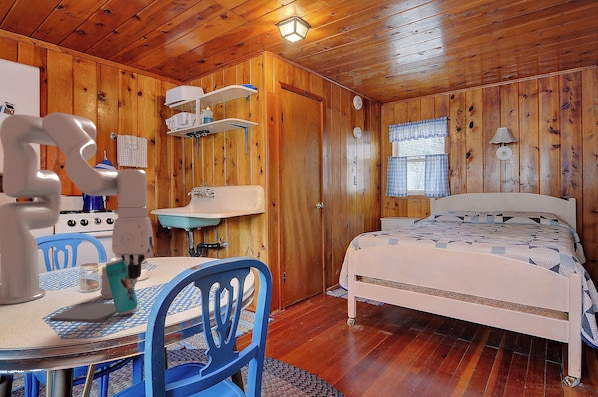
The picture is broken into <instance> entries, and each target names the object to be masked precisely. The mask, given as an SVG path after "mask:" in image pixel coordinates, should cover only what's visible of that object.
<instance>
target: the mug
mask: <svg viewBox="0 0 598 397" xmlns="http://www.w3.org/2000/svg"><path fill="white" fill-rule="evenodd" d="M138 278H139V277H138ZM138 278H136V279H132V282H133V286H134V288H135V286H136V284H138V283H137V282H138V280H139V279H138ZM100 279H101V290H100V295H101V298H102V299H106V300H107V299H113V297H112V293H111V289H110V285H109V281H108V277H107V273H106V265H104V266H102V267H101V276H100Z"/></svg>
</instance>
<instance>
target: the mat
mask: <svg viewBox="0 0 598 397" xmlns="http://www.w3.org/2000/svg"><path fill="white" fill-rule="evenodd" d="M116 314H118V312H117V311H116V309H115V305H114V303H110V302H109V303H107V302H106V303H103V302H81V303H79V304H77V305H75V306H73V307H71V308H68V309H66V310H64V311H62V312H59V313H57V314H55V315H53V316H51V317H50V318H49V320H50V321H66V322H67V321H70V322H71V321H72V322H73V321H74V322H95V323H99V322H100V323H101V322H103V321H105V320H106V319H108V318H110V317H112V316H114V315H116Z"/></svg>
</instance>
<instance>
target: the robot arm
mask: <svg viewBox="0 0 598 397" xmlns="http://www.w3.org/2000/svg"><path fill="white" fill-rule="evenodd" d="M96 136H97V127H96V125H95V123H94V122H92V120H90V119H88V118H86V117H85V116H80V115H79V116H78V115H74V114H69V113H65V112H58V111H57V112H52V113H49V114H47V115H45V116H44V117H40V116H34V115H30V114H29V115H28V114H21V113H20V114H11V115H9V116H6V117H5V118H4V120H2V122H1V125H0V142H1V146H2V152H3V162H2V164H3V165H2V190H3V193H4V194H5V196H7V197H10V198H14V199H15V198H16V199H29V198H30V199H35V198H37V201H13V202H7V203H4V204H2V205H0V278H1V280H0V281H1V284H0V305H12V304H13V305H14V304H20V303H25V302H29V301H34V300H37V299H40V298H42V297H44V296H45V295H46V290H45V289H42V288H40V275H39V274H40V272H39V271H40V270H39V267H40V266H39V244H38V241H37V239H36V238H35V237H34V235H33V234H32V233H31V231H33V230H40V229H41V230H42V229H48V228H52V227H54V226H56V225H57V223H58V221H59V220H60V216H61V213H60V212H61V204H62V203H61V202H62V201H61V200H62V183H61V182H62V181H61V179H60V177H59V175H58V174H57V173H56V172H55V171H52V170H49V169H38V160H39V159H38V154H37V152H36V150H35V149H34V147H33V145H31V144H36V145H37V144H38V145H45V146H54V147H58V149H60V151H61V152H62V153H63V154H64V155H65V162H64V167H65V173H66V176H67V178H68V180H70V181H71V183H72V184H74V186H75V187H76V188H77V189H78V190H79V191H80V192H82V193H83V194H85V195H88V196H91V197H99V196H102V197H103V196H104V197H105V196H110V197H112V196H117V209H114V214H115V215H117V218H114V224H113V228H112V235H111V236H112V237H111V239H112V240H111V249H112V253H113V254H114V255H115V257H116V258H119V259H123V260H124V261H125V263H126V265H128V275H129V279H136V278H141V276H142V263H143V262H144V261H145V260H146V259H149V258H152V257H153V256H154V252H153V251H154V247H155V245H154V244H155V243H154V242H155V241H154V232H153V225H152V221H151V218H150V217H149V215H148V214H149V213H148V210H149V209H148V178H147V177H148V176H147V172H146V171H144V170H143V169H135V168H134V169H132V168H130V169H128V168H127V169H111V168H110V169H109V168H94V167H92V165H90V164H89V162H88V161H89V160H90V159H92V158H93V157H94V156H95V154H96V153H97V151H98V146H97V143H96V142H95V140H96V138H97V137H96Z"/></svg>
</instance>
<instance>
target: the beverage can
mask: <svg viewBox="0 0 598 397" xmlns="http://www.w3.org/2000/svg"><path fill="white" fill-rule="evenodd" d="M105 266H106V273H107V277H108V281H109V285H110V289H111V293H112V297H113V298H112V300H113V304H114V305H115V309H116V311H117V314H118V315H119V316H124V315H128V314H130V313H133V312H135V311H136V310H137V309H138V303H139V302H138V298H137V295H136V291H135V287H134V286H133V282H132V279H129V275H128V265H126V263H125V261H124V260H123V259H122V258H119V259H117V260H113V261H110V262H107V263H105Z"/></svg>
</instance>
